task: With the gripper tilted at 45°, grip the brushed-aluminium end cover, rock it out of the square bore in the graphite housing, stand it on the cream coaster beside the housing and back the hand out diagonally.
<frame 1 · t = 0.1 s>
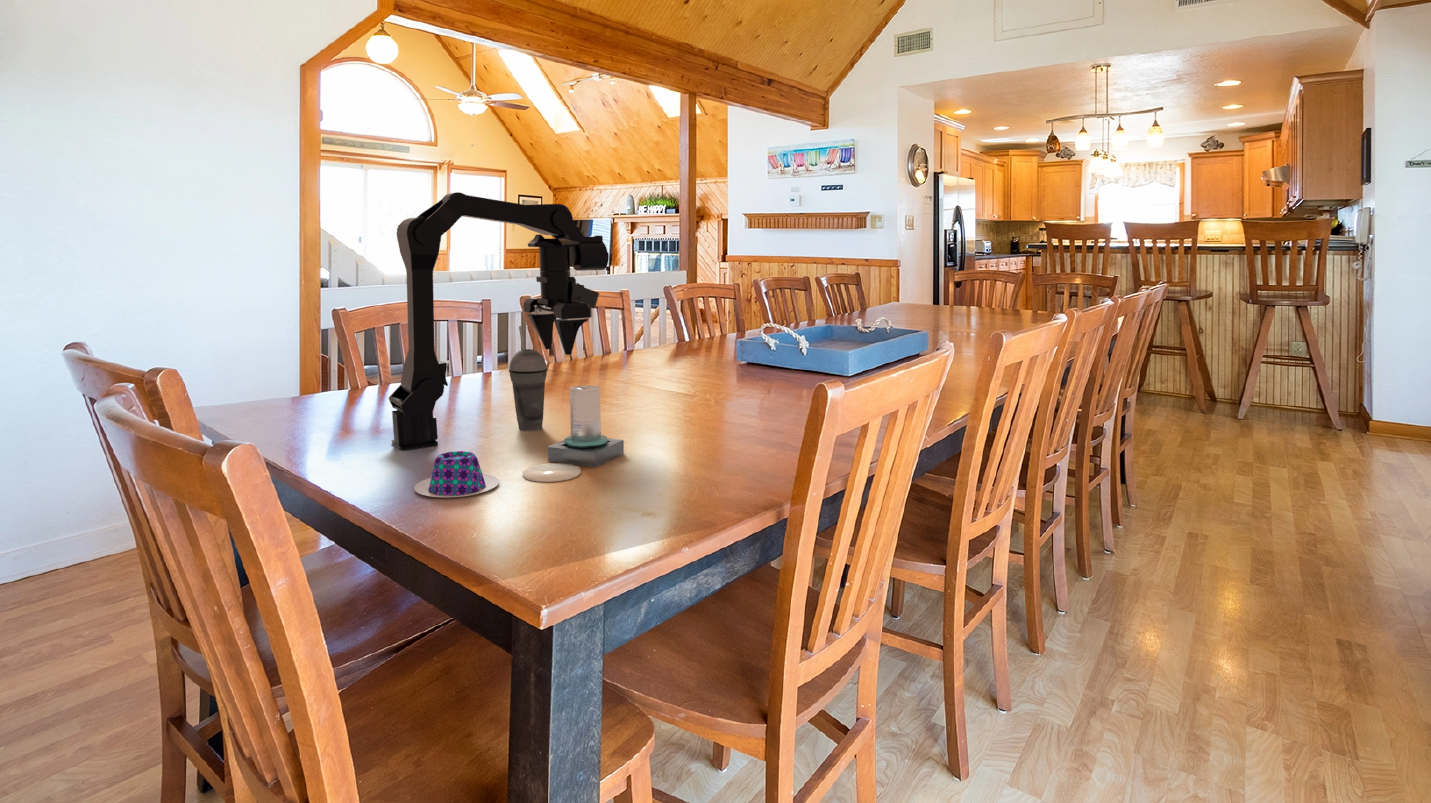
hand: (558, 351, 154), 15 cm above the table, tool pointing down, fingers open, 9 cm apart
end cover: (585, 423, 132), in the housing
housing: (586, 457, 133), on the table
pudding: (457, 490, 117), on the table
coaster: (551, 473, 124), on the table
beverage cup: (530, 429, 154), on the table
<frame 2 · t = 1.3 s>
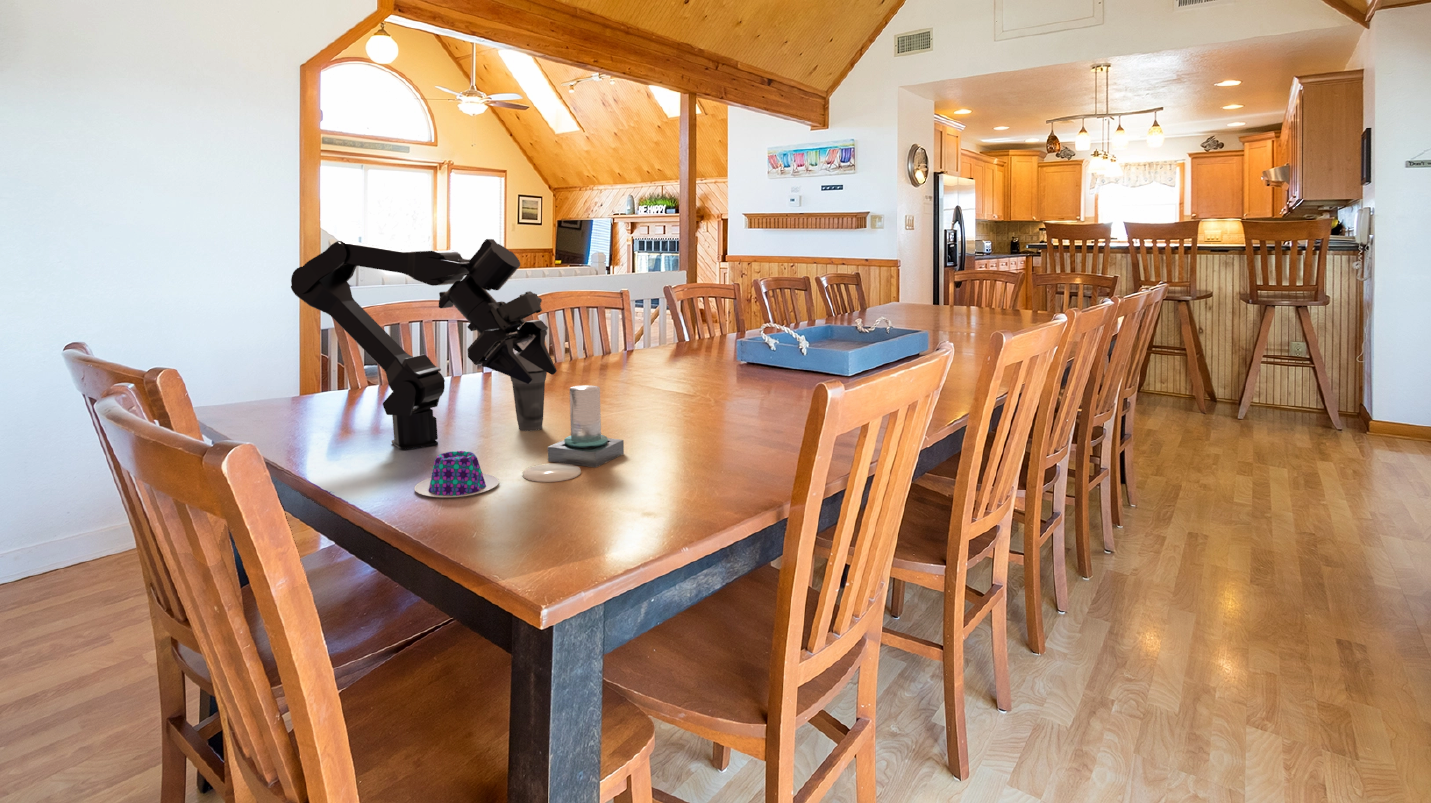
hand: (543, 377, 133), 13 cm above the table, tool tilted 45°, fingers open, 9 cm apart
nothing on the table moved.
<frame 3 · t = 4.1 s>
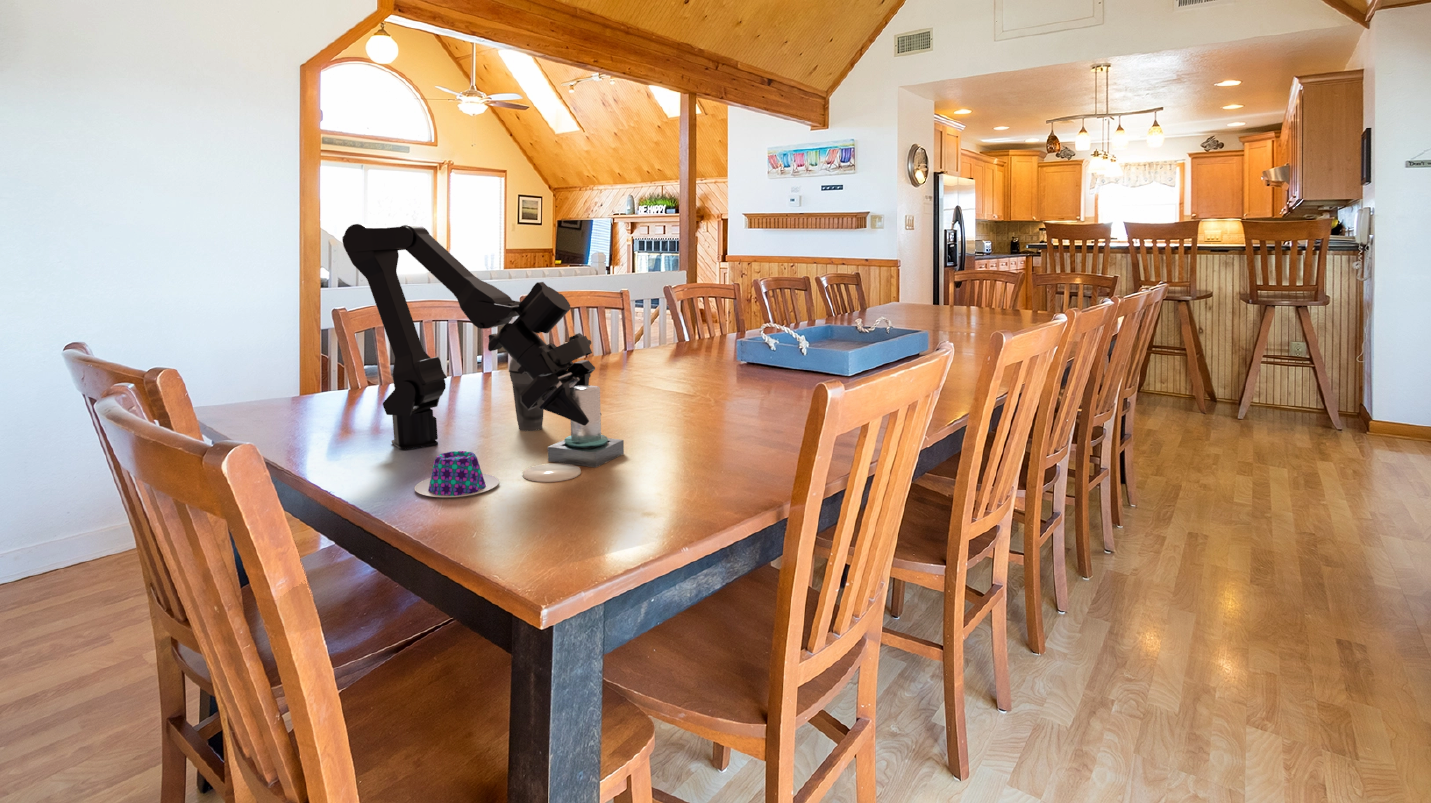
hand: (593, 420, 132), 7 cm above the table, tool tilted 45°, fingers closed on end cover, 5 cm apart
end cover: (585, 423, 132), in the housing, touching gripper
everything else where it was.
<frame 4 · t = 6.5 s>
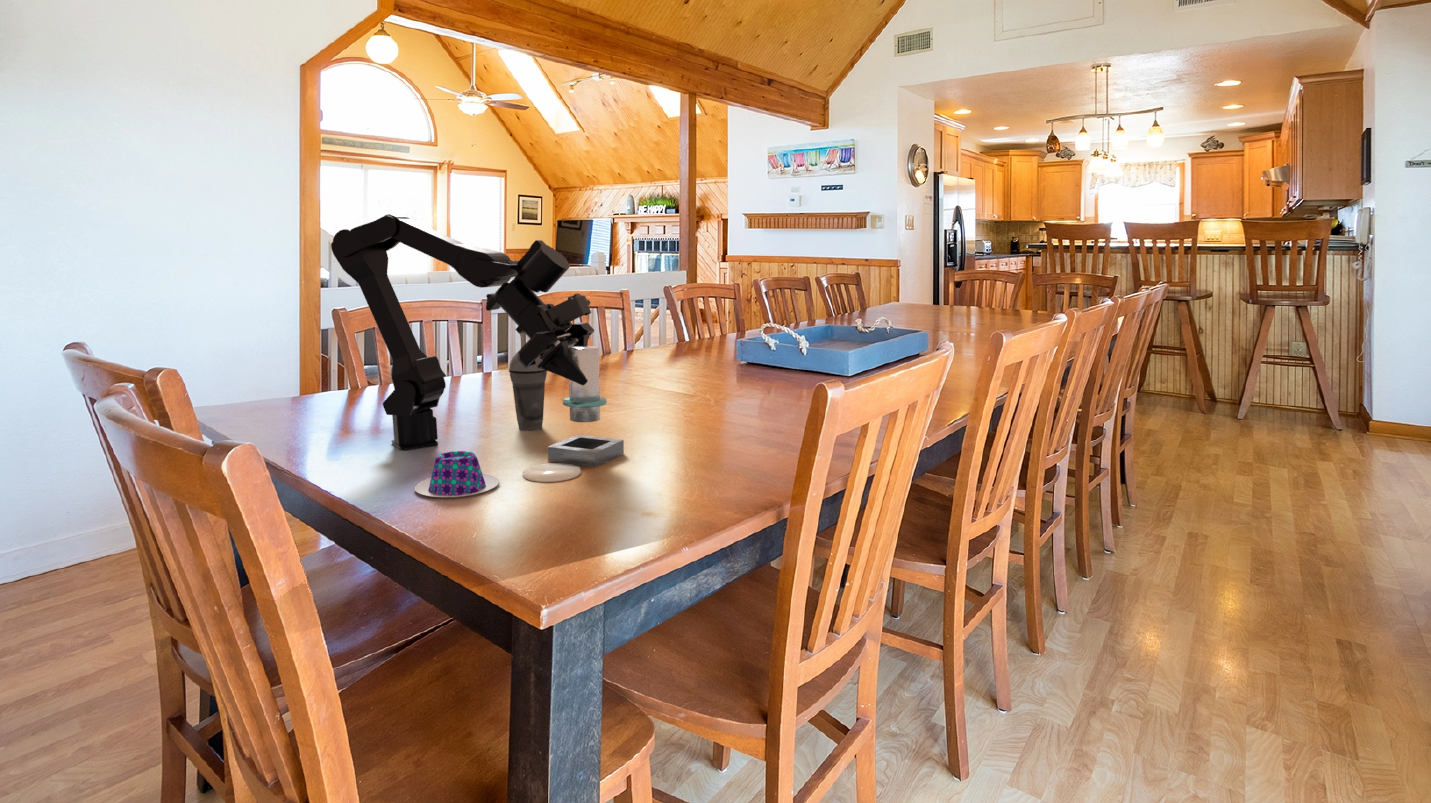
hand: (592, 380, 130), 13 cm above the table, tool tilted 45°, fingers closed on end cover, 5 cm apart
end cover: (584, 383, 131), point 13 cm above the table, touching gripper
everything else where it was.
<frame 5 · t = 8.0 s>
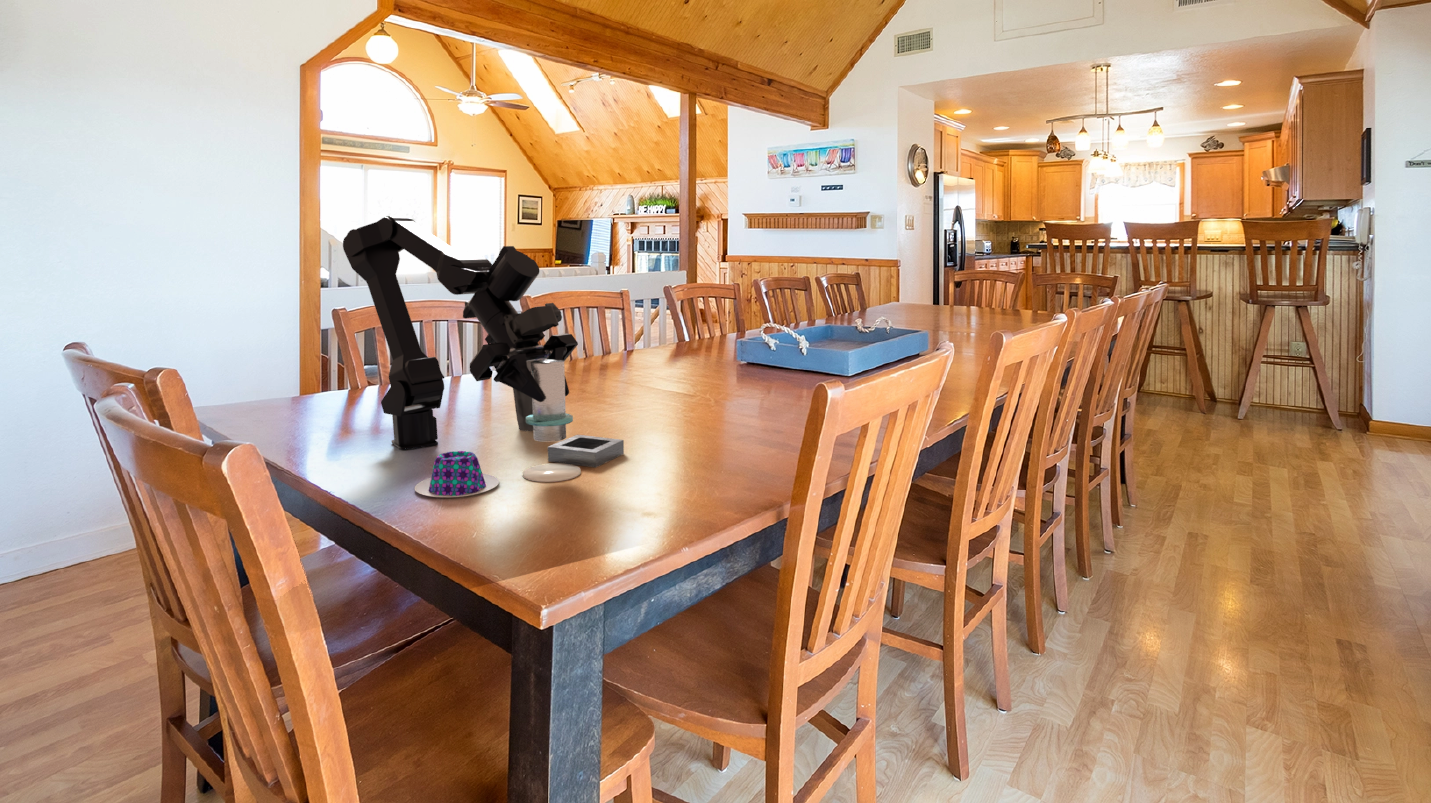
hand: (555, 397, 121), 12 cm above the table, tool tilted 45°, fingers closed on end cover, 5 cm apart
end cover: (548, 400, 122), point 12 cm above the table, touching gripper
everything else where it was.
when the fingers open (8 cm above the table, at t = 9.3 s): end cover stays where it is, resting on coaster.
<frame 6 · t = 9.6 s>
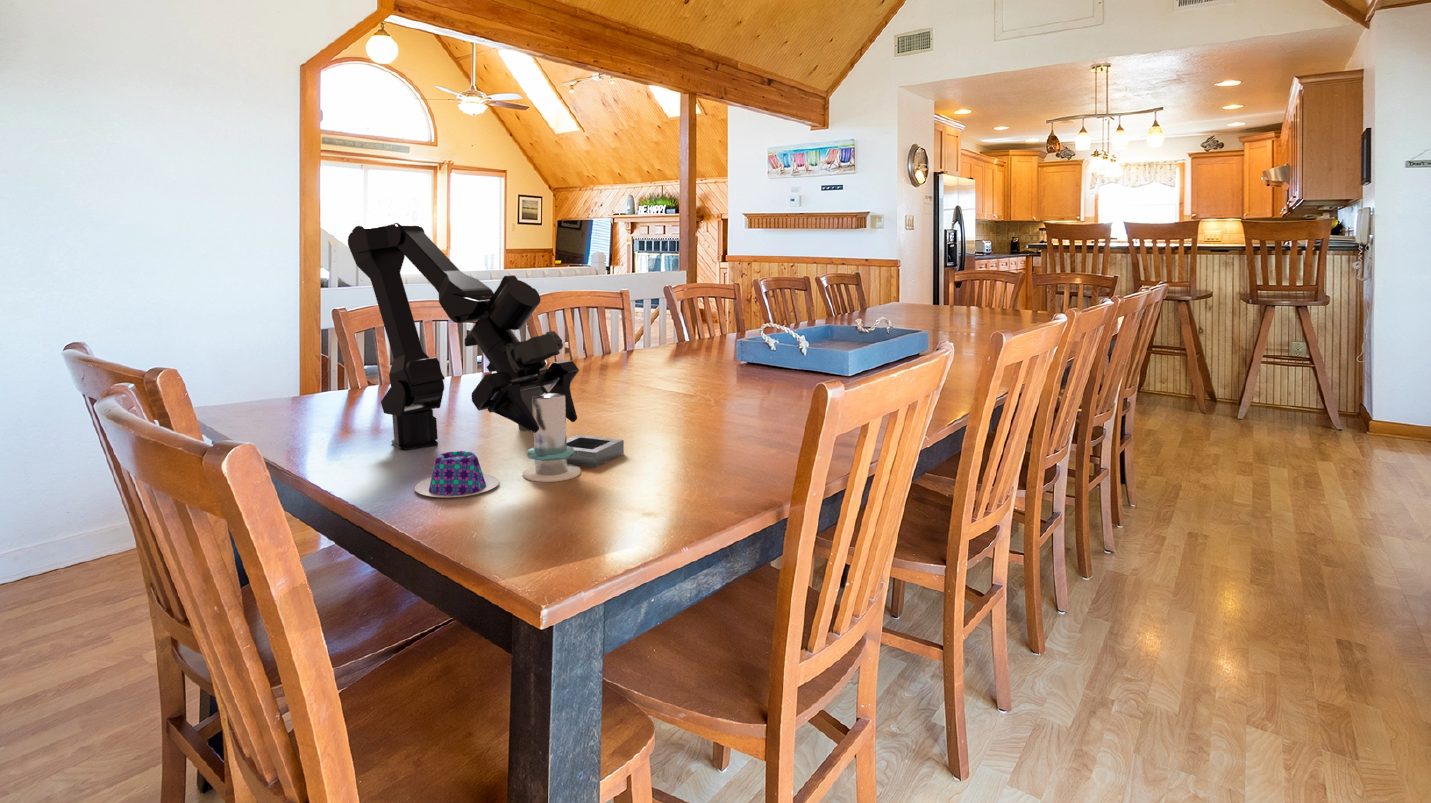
hand: (556, 425, 122), 8 cm above the table, tool tilted 45°, fingers open, 8 cm apart
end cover: (550, 433, 123), on the coaster
everything else where it was.
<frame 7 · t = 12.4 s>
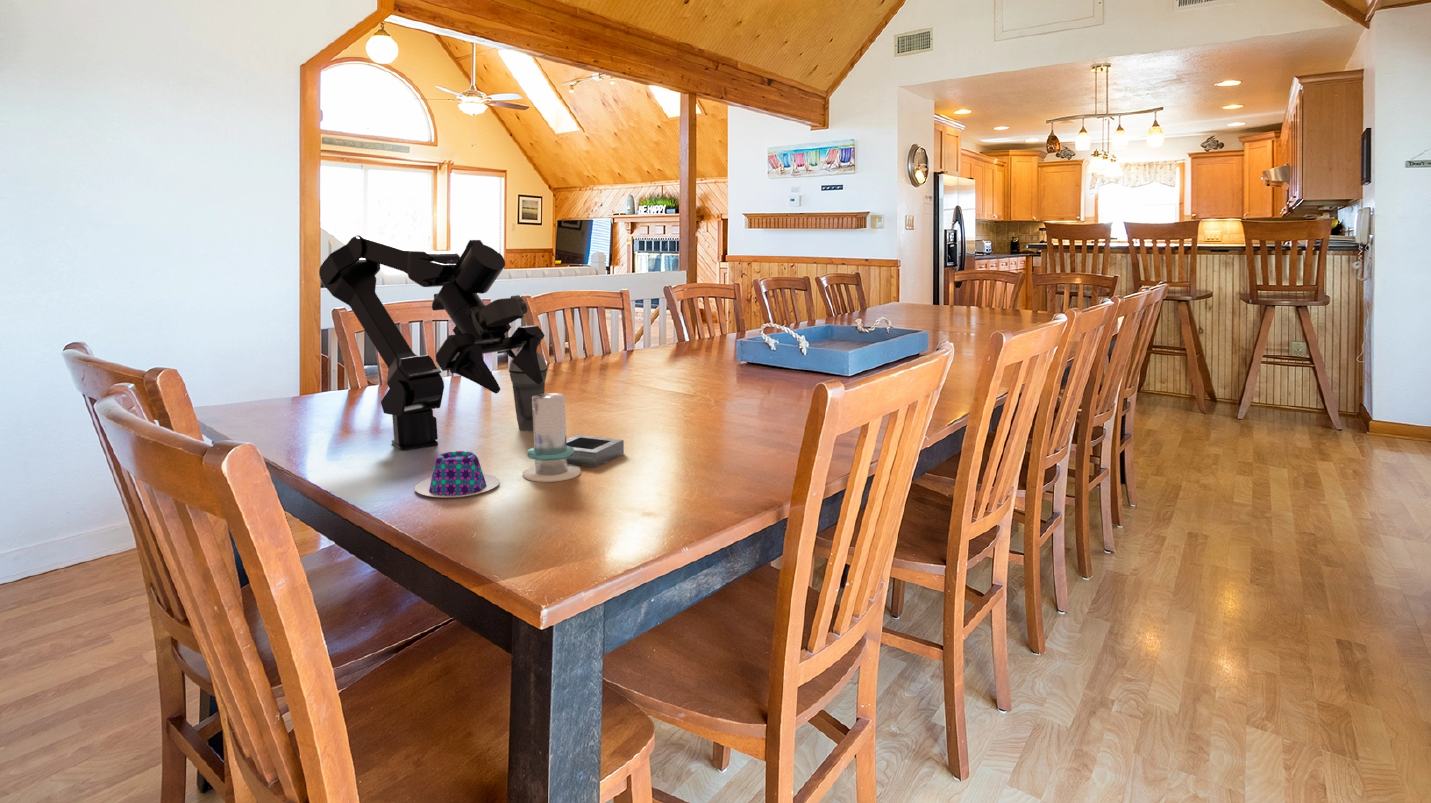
hand: (520, 387, 125), 13 cm above the table, tool tilted 45°, fingers open, 9 cm apart
nothing on the table moved.
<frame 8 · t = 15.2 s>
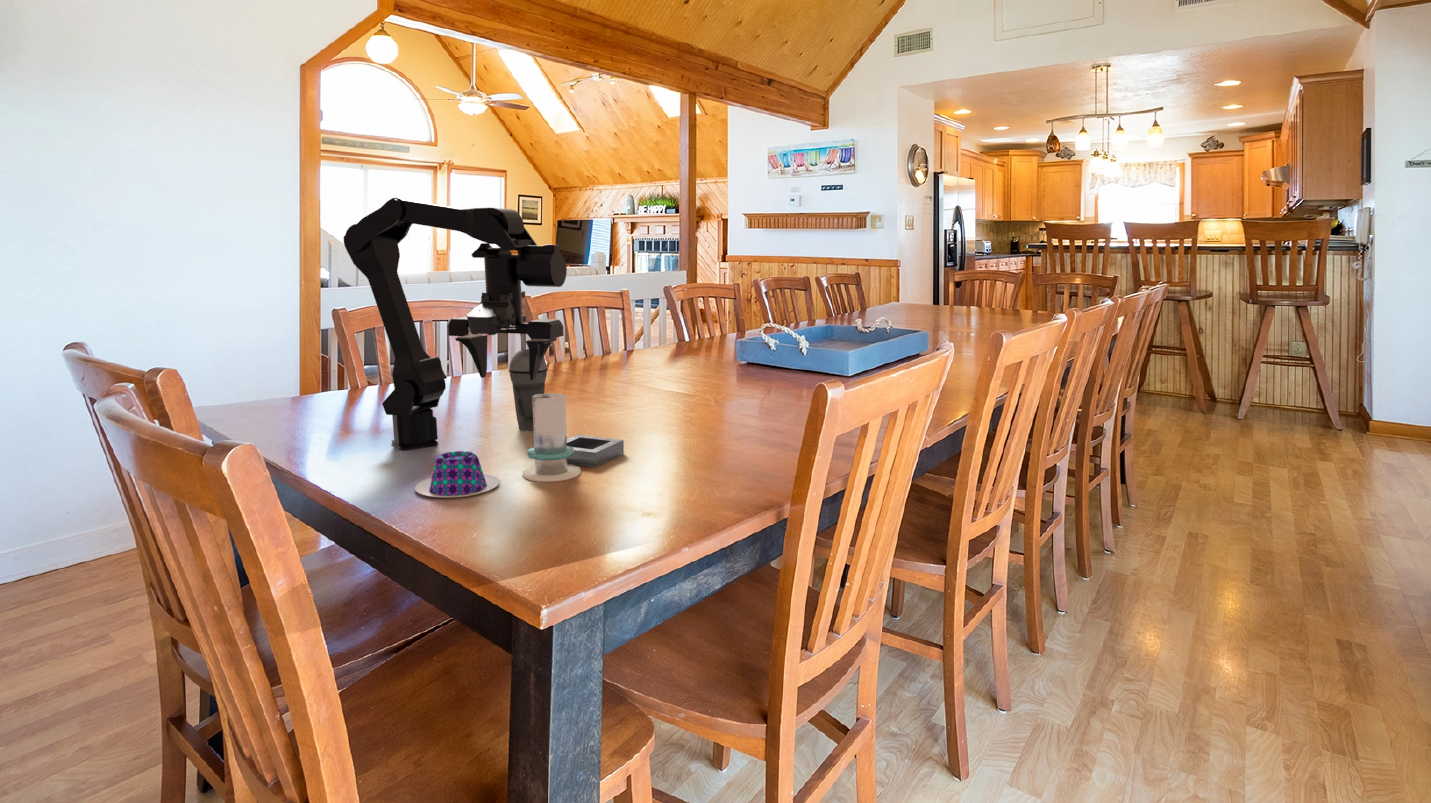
hand: (507, 378, 134), 13 cm above the table, tool pointing down, fingers open, 9 cm apart
nothing on the table moved.
at the end: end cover 0.1 cm off-centre on the coaster, point 6.4 cm above the coaster's base; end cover tilted 0°; the gripper is holding nothing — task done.
